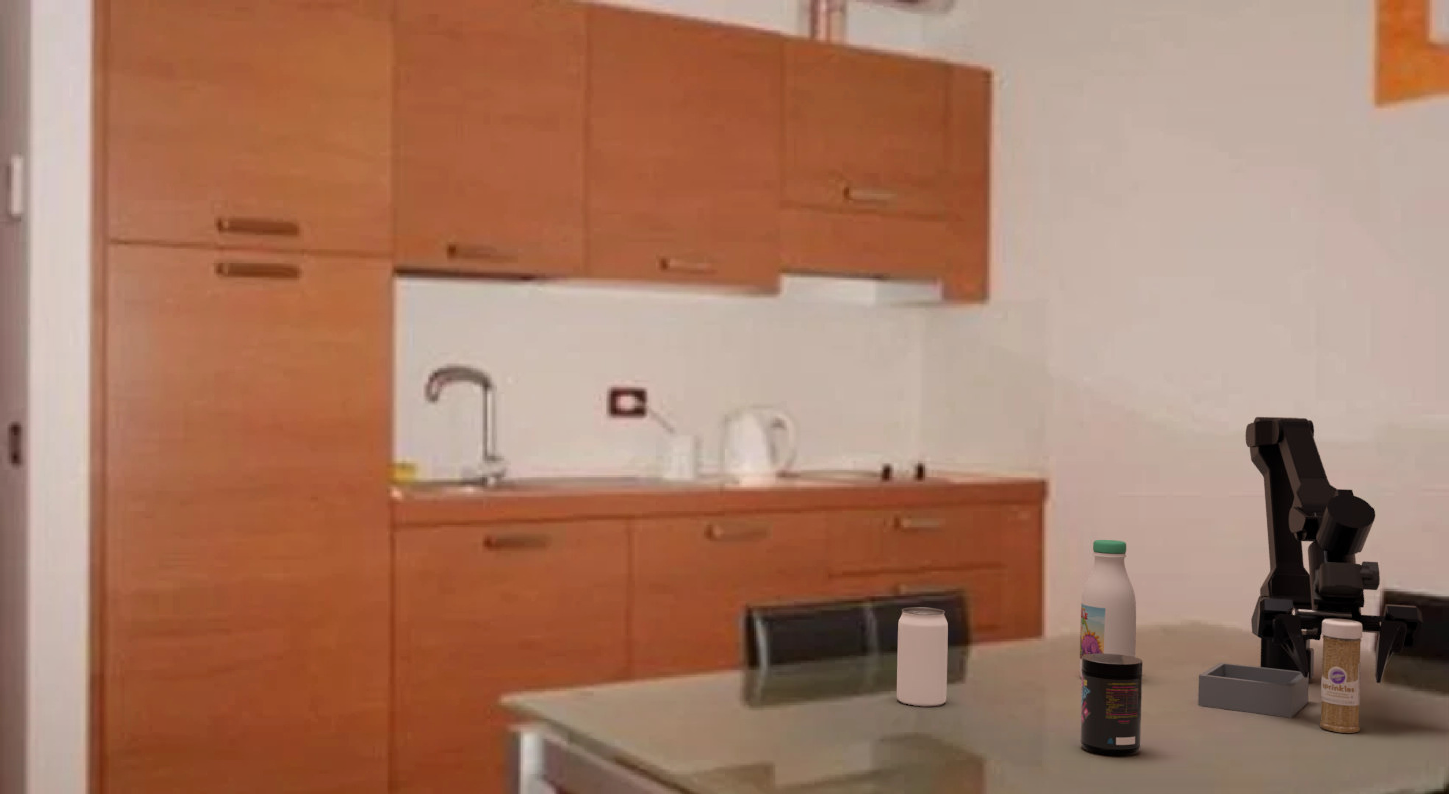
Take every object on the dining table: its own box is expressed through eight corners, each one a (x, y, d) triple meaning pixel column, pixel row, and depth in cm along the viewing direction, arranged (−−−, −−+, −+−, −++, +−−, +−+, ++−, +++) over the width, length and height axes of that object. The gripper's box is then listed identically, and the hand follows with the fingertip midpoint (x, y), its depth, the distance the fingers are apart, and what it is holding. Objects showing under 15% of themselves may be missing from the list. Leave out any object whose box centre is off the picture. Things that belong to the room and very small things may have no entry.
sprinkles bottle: (1321, 731, 168) (1323, 621, 168) (1318, 724, 173) (1320, 616, 173) (1362, 735, 167) (1364, 624, 167) (1358, 727, 171) (1360, 619, 171)
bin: (1198, 705, 182) (1198, 675, 182) (1219, 691, 192) (1219, 662, 192) (1291, 717, 176) (1292, 686, 176) (1308, 702, 186) (1308, 672, 186)
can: (945, 709, 177) (947, 615, 177) (894, 705, 178) (896, 612, 178) (947, 698, 183) (949, 608, 183) (898, 695, 184) (900, 605, 184)
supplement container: (1114, 741, 161) (1116, 652, 161) (1153, 755, 155) (1155, 662, 155) (1067, 745, 159) (1069, 655, 159) (1105, 760, 153) (1107, 665, 153)
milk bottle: (1129, 675, 202) (1131, 539, 202) (1139, 686, 194) (1142, 544, 194) (1075, 673, 203) (1078, 537, 203) (1084, 683, 195) (1086, 542, 195)
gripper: (1260, 534, 176) (1264, 633, 166) (1421, 541, 171) (1436, 645, 160) (1255, 588, 184) (1259, 686, 173) (1409, 597, 178) (1423, 699, 168)
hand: (1342, 678), depth 168 cm, fingers open, 8 cm apart
